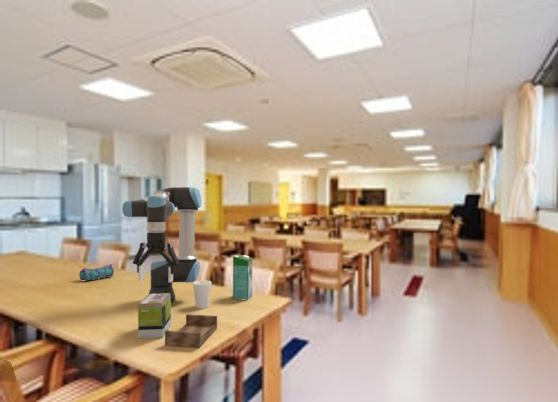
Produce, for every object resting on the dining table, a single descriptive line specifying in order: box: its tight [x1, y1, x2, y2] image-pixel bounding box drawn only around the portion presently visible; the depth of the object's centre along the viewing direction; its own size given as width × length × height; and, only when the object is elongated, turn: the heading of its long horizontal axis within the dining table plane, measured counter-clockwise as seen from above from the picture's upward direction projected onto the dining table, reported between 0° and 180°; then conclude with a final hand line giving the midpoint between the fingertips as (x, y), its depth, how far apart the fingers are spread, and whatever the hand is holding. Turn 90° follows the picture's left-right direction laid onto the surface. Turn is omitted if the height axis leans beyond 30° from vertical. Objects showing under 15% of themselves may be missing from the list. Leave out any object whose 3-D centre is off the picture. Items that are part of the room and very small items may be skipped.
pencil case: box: [78, 263, 115, 282], centre depth 240 cm, size 21×9×10 cm, turn 145°
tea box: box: [137, 293, 172, 339], centre depth 143 cm, size 15×10×15 cm
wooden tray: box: [164, 313, 218, 349], centre depth 138 cm, size 14×20×6 cm
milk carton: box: [232, 253, 253, 301], centre depth 195 cm, size 9×9×25 cm
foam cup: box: [192, 279, 212, 310], centre depth 177 cm, size 10×9×13 cm
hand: (155, 281), depth 143 cm, fingers open, 13 cm apart
